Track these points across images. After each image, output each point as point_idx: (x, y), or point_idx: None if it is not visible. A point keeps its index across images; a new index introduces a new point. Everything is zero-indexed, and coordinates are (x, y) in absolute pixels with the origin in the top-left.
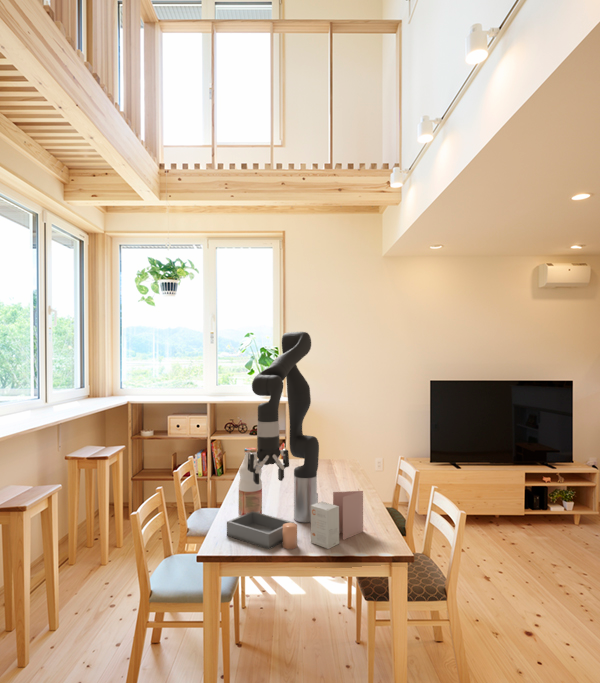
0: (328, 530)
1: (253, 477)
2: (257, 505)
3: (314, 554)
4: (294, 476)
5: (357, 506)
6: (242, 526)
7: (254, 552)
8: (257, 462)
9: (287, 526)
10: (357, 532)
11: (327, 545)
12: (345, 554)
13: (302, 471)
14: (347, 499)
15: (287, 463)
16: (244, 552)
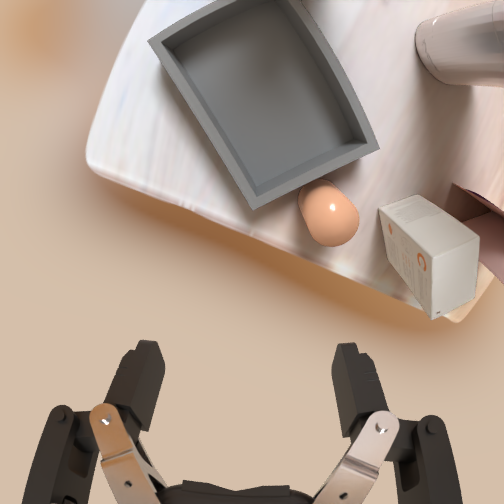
0: (407, 284)
1: (115, 376)
2: None
3: (345, 270)
4: None
5: None
6: (186, 101)
7: (207, 197)
8: (115, 483)
9: (321, 228)
10: (482, 217)
11: (390, 262)
12: (396, 293)
13: None
14: None
15: (406, 468)
16: (181, 187)
